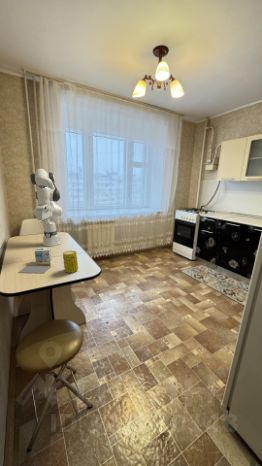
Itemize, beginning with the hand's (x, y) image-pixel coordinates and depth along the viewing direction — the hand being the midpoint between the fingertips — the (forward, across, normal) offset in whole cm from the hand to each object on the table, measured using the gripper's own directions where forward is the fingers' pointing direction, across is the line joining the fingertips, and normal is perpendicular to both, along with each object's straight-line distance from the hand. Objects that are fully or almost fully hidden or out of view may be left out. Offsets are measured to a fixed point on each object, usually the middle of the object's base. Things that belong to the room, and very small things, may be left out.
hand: (46, 223), depth 156 cm
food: (+29, +24, +26) cm, 46 cm away
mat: (+29, +24, 0) cm, 38 cm away
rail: (+29, +17, 0) cm, 33 cm away
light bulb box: (+29, +10, 0) cm, 31 cm away
